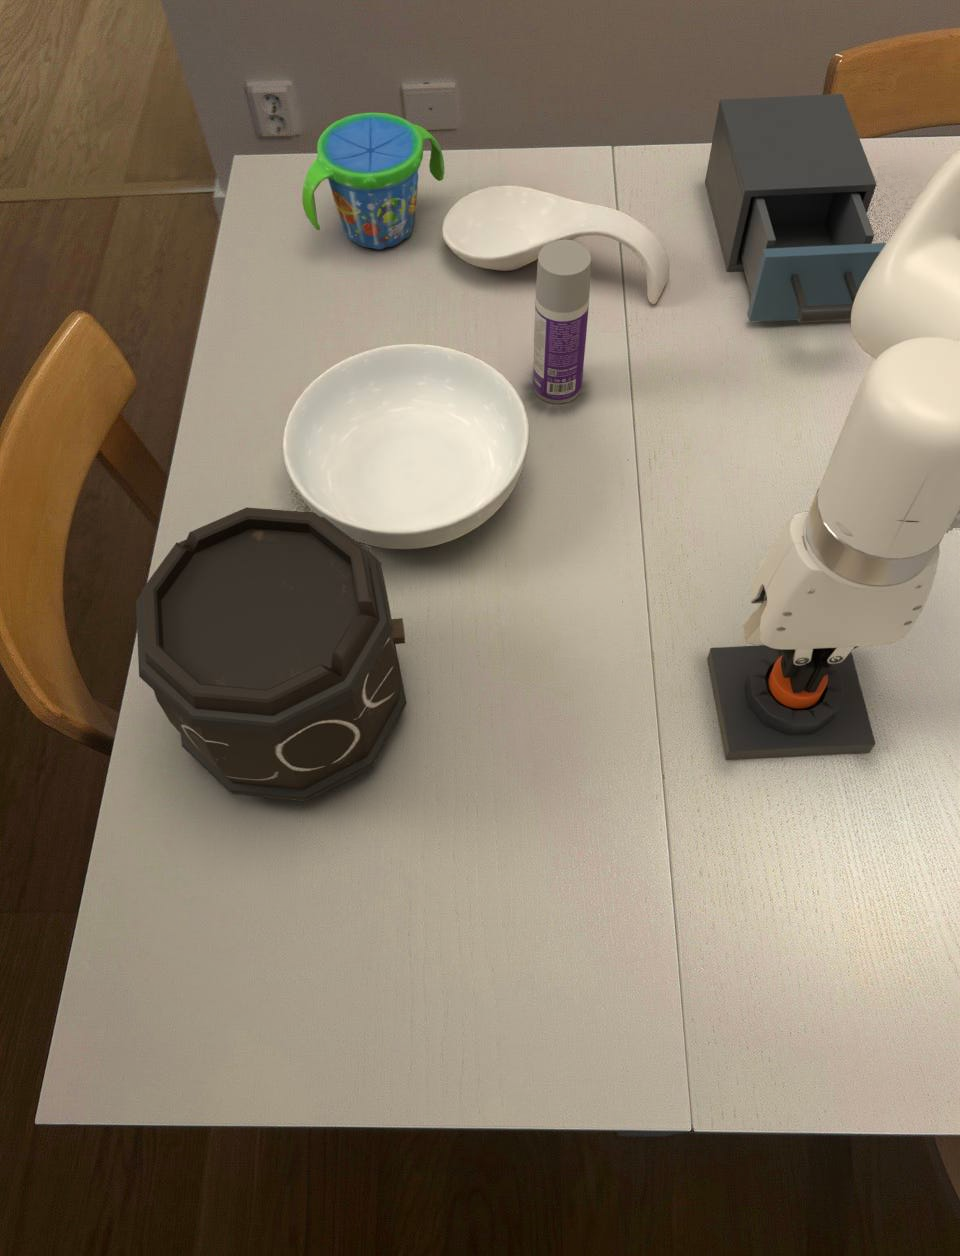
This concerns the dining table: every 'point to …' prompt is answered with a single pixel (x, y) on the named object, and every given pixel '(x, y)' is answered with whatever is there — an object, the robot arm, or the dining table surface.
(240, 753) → the dark grey faceted cylinder
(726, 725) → the dark grey button base
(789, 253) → the blue cabinet drawer
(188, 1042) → the dining table surface
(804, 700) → the button
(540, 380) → the container
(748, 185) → the grey cabinet body
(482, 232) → the spoon rest
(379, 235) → the snack cup
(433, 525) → the serving bowl
